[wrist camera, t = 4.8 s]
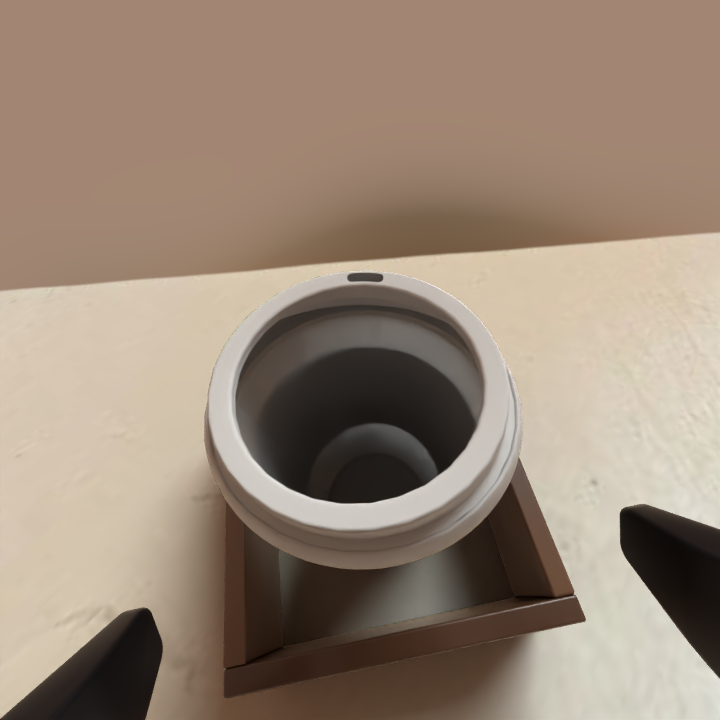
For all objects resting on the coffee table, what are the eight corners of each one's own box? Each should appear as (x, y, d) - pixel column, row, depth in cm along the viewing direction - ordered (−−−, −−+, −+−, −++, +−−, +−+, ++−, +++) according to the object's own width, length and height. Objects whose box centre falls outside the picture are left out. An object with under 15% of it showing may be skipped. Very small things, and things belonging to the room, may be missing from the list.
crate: (538, 614, 15) (588, 621, 11) (266, 672, 15) (222, 700, 11) (453, 379, 21) (467, 331, 17) (258, 417, 20) (227, 376, 17)
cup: (450, 437, 19) (518, 256, 9) (457, 591, 16) (580, 586, 5) (313, 429, 20) (228, 255, 10) (290, 574, 16) (119, 543, 6)
